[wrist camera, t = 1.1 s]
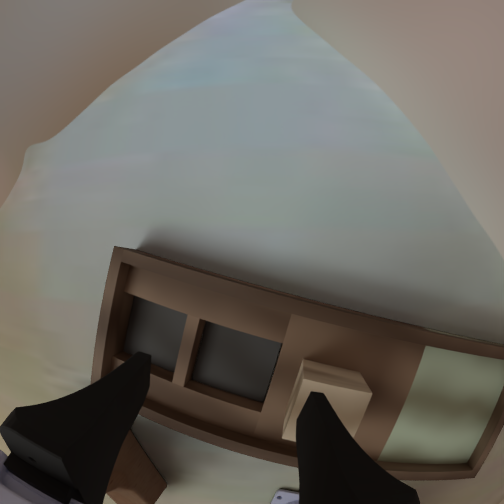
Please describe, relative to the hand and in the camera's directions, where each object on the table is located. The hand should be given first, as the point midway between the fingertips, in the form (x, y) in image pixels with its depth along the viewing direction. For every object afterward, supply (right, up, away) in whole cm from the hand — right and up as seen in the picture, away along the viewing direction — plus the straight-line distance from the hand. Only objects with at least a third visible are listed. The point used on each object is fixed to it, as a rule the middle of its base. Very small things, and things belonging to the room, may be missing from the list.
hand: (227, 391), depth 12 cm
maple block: (+6, -4, +9) cm, 12 cm away
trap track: (+7, -5, +11) cm, 13 cm away
